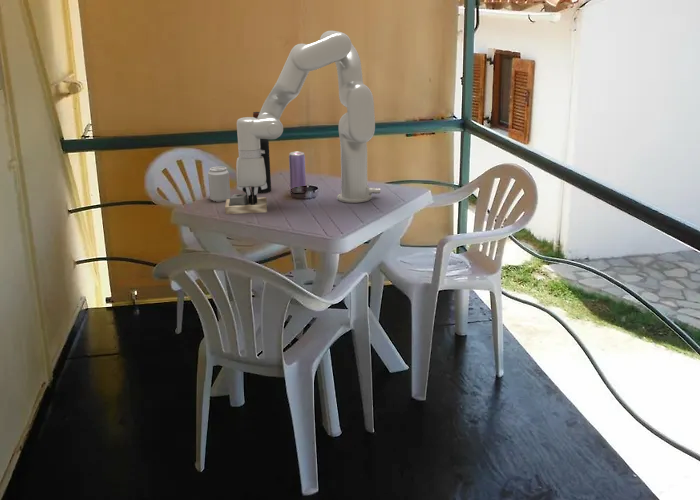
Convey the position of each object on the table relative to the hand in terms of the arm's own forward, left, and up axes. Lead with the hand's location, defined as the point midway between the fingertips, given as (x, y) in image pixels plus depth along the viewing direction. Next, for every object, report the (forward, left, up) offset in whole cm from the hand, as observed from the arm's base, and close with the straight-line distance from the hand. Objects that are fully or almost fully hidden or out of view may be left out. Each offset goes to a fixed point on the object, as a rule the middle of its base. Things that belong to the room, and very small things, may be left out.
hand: (253, 205), depth 256 cm
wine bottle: (-3, -24, -2) cm, 24 cm away
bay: (+2, 0, -1) cm, 3 cm away
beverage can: (-17, -20, -2) cm, 26 cm away
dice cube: (+4, +1, -1) cm, 5 cm away
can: (+12, -14, -2) cm, 19 cm away
